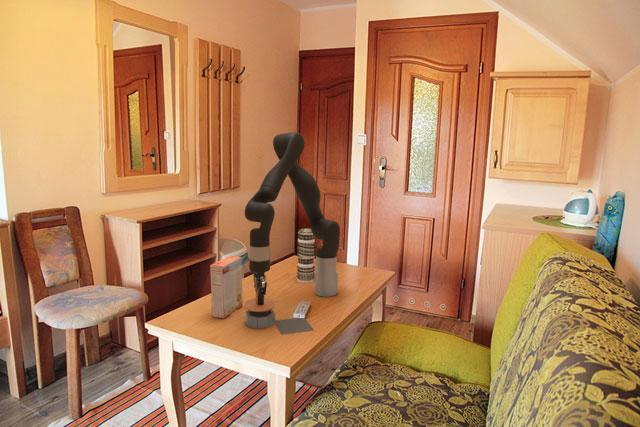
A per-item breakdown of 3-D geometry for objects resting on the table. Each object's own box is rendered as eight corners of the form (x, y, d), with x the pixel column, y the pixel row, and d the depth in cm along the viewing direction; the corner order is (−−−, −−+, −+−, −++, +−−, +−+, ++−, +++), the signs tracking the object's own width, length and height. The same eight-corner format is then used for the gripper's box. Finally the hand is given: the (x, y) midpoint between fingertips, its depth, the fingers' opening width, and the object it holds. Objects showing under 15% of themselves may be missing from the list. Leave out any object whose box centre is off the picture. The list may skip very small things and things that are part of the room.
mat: (304, 318, 165) (304, 316, 165) (314, 331, 154) (314, 330, 154) (273, 322, 162) (273, 320, 161) (281, 336, 150) (281, 334, 150)
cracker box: (230, 304, 178) (229, 255, 174) (243, 306, 176) (242, 256, 172) (210, 317, 165) (209, 264, 161) (224, 319, 163) (223, 266, 159)
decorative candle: (292, 281, 208) (293, 230, 203) (301, 275, 216) (301, 226, 212) (310, 284, 204) (311, 232, 200) (318, 278, 212) (319, 228, 208)
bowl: (270, 316, 166) (270, 305, 165) (276, 327, 157) (276, 316, 156) (244, 320, 163) (244, 308, 162) (249, 331, 154) (249, 319, 153)
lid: (271, 298, 166) (271, 285, 165) (278, 309, 155) (278, 295, 154) (241, 301, 162) (241, 288, 161) (247, 313, 152) (246, 299, 151)
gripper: (274, 262, 150) (274, 309, 153) (265, 251, 163) (265, 295, 166) (252, 263, 148) (253, 311, 151) (246, 253, 161) (246, 297, 164)
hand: (259, 302), depth 159 cm, fingers closed on lid, 2 cm apart
